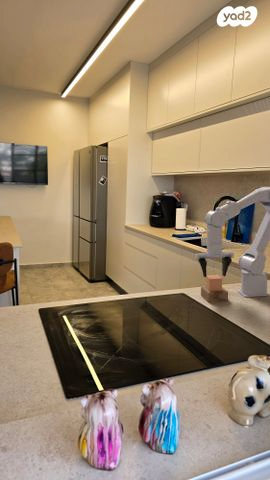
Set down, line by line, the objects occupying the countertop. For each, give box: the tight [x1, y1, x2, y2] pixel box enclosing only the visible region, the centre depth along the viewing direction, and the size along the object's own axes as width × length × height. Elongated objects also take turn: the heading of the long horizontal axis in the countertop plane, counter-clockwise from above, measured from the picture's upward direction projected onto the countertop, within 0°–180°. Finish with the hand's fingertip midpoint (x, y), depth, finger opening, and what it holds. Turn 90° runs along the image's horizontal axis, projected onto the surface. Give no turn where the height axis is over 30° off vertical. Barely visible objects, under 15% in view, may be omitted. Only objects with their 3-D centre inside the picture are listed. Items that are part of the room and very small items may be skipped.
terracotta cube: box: [205, 274, 223, 291], centre depth 130 cm, size 5×5×5 cm
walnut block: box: [200, 285, 229, 303], centre depth 130 cm, size 8×8×4 cm
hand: (214, 276), depth 129 cm, fingers open, 7 cm apart
